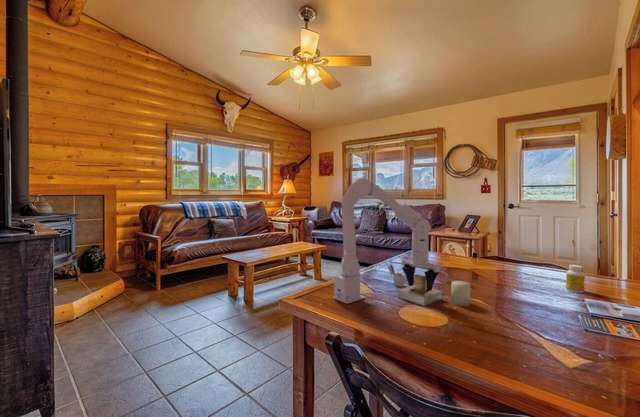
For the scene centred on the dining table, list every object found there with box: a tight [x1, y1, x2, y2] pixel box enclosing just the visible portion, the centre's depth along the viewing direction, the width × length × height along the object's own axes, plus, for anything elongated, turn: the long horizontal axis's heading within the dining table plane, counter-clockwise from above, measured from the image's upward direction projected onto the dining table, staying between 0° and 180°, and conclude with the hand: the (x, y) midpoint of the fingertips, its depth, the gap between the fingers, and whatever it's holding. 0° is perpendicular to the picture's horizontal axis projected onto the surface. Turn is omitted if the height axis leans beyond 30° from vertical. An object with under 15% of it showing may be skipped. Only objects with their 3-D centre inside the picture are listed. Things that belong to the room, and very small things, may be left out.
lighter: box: [387, 264, 405, 288], centre depth 129 cm, size 7×2×8 cm, turn 44°
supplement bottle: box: [565, 264, 586, 294], centre depth 118 cm, size 5×5×10 cm
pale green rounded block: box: [450, 280, 471, 307], centre depth 107 cm, size 6×6×7 cm
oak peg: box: [414, 274, 426, 294], centre depth 111 cm, size 4×4×8 cm
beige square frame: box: [397, 285, 443, 307], centre depth 112 cm, size 11×11×3 cm
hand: (419, 287), depth 111 cm, fingers open, 7 cm apart
